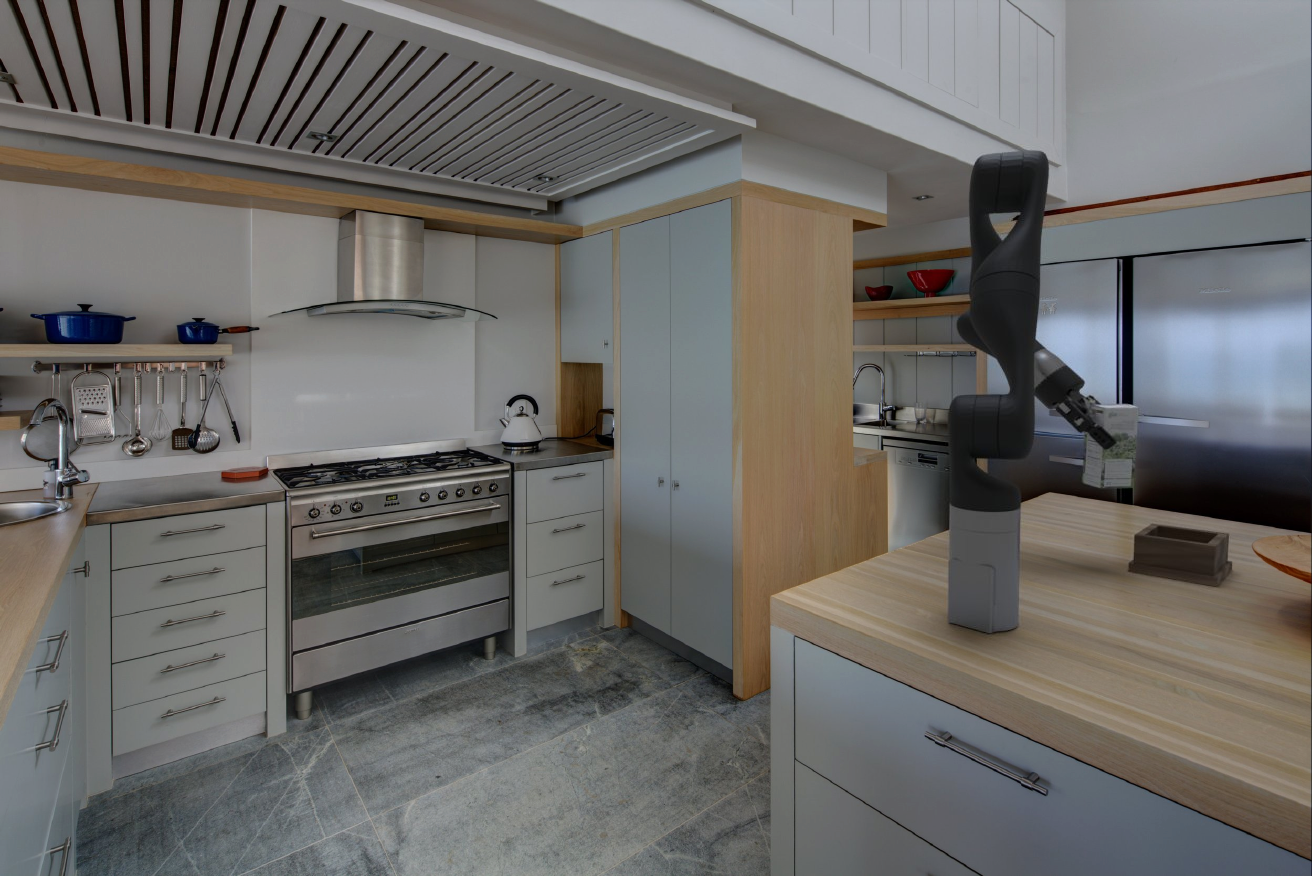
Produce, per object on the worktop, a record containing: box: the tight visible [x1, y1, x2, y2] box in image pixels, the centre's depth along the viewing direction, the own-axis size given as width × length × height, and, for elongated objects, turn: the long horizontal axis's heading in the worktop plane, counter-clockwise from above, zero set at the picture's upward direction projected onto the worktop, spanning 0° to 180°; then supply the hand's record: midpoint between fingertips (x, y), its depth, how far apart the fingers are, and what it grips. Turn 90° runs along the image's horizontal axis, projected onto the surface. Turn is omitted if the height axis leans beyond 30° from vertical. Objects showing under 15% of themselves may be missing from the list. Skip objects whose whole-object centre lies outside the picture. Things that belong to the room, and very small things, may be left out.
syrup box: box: [1081, 403, 1140, 489], centre depth 115 cm, size 6×6×14 cm
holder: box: [1127, 523, 1233, 588], centre depth 113 cm, size 12×12×6 cm
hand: (1119, 443), depth 114 cm, fingers closed on syrup box, 8 cm apart
